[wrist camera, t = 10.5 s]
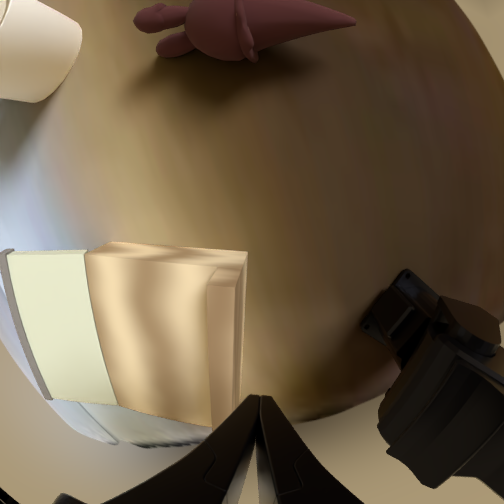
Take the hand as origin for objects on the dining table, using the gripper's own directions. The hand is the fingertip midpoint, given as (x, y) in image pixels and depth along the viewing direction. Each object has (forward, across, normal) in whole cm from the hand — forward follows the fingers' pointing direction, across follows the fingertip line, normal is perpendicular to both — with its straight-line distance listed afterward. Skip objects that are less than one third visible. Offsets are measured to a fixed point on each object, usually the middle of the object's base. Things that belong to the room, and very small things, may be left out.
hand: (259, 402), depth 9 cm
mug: (+13, -26, +22) cm, 36 cm away
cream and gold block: (+13, -8, -6) cm, 16 cm away
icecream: (+13, -3, +19) cm, 24 cm away
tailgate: (+9, -14, -6) cm, 18 cm away
